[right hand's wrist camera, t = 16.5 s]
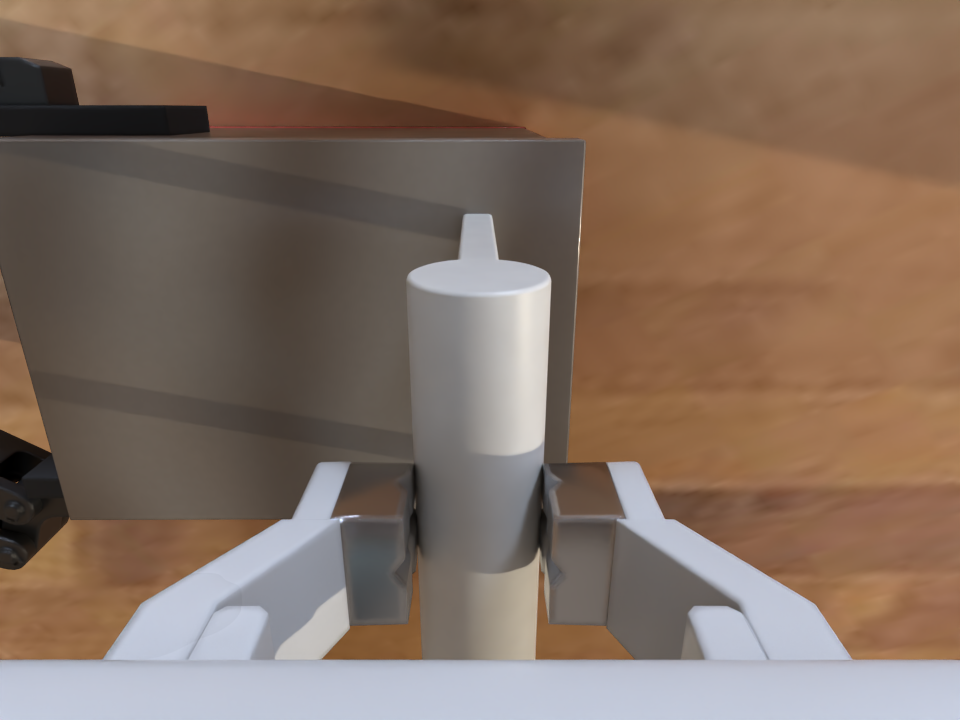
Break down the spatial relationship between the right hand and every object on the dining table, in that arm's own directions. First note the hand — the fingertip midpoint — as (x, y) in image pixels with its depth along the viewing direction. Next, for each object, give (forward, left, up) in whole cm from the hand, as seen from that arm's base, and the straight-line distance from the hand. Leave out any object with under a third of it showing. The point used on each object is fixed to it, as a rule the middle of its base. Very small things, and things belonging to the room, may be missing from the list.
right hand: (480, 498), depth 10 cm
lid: (+2, -4, -8) cm, 9 cm away
